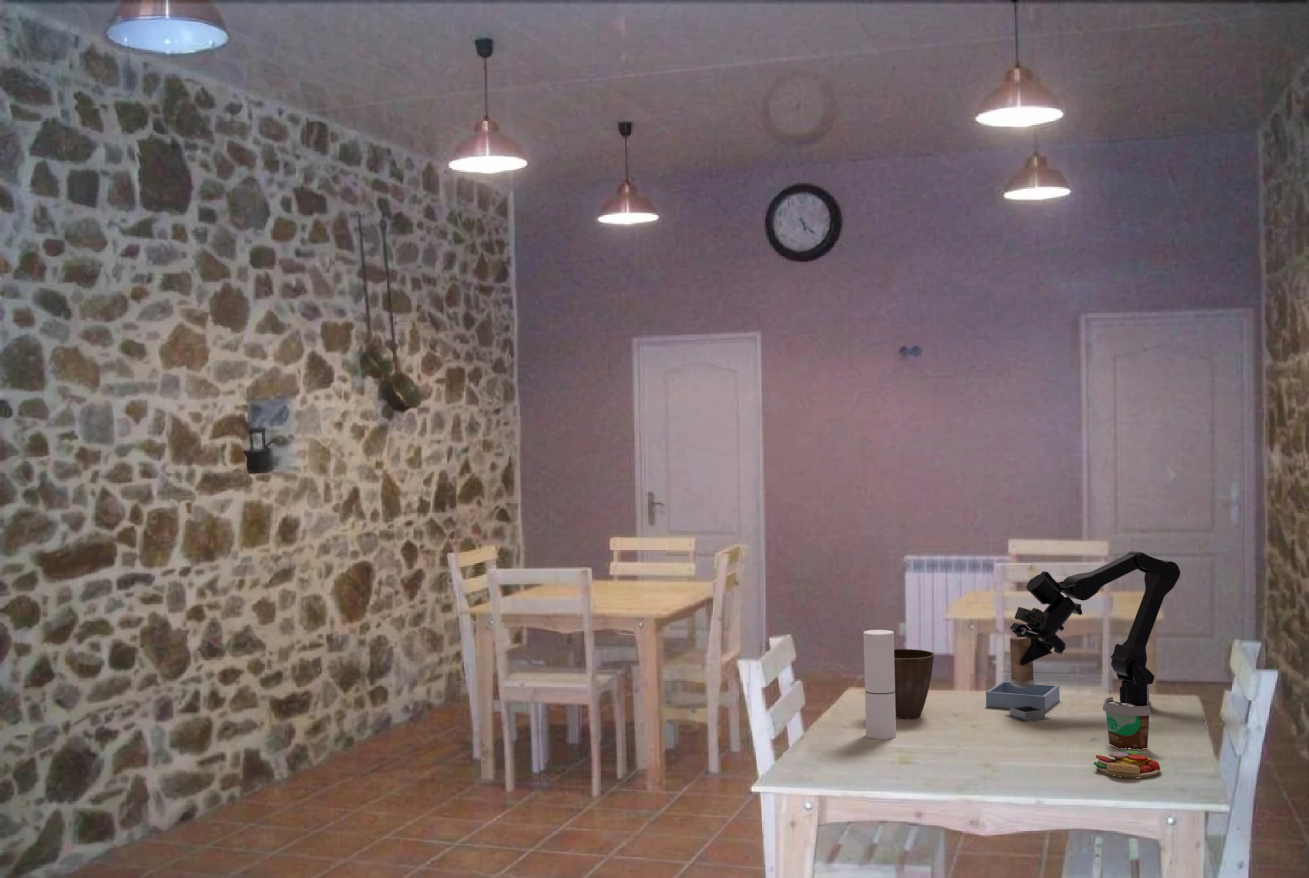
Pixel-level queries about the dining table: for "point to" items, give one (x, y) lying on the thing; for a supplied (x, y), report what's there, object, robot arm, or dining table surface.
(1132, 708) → the food container
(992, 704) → the bin
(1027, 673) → the strut
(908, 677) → the plant pot
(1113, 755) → the toy food set
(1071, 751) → the dining table surface
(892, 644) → the cylindrical container
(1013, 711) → the socket block
